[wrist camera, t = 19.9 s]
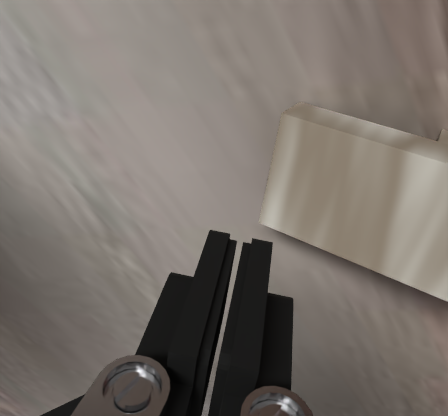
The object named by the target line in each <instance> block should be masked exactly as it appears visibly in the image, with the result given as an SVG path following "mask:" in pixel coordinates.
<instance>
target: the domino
mask: <svg viewBox="0 0 448 416" xmlns="http://www.w3.org/2000/svg"><path fill="white" fill-rule="evenodd" d="M259 223H260V224H263V225H265V226H268V227H270V228H272V229H275V230H277V231H280V232H282V233H284V234H287V235H289V236H292V237H294V238H296V239H299V240H301V241H303V242H306V243H308V244H311V245H313V246H315V247H318V248H320V249H323V250H325V251H327V252H330V253H332V254H335V255H337V256H339V257H342V258H344V259H347V260H349V261H351V262H354V263H356V264H359V265H361V266H363V267H366V268H368V269H371V270H373V271H375V272H378V273H380V274H382V275H385V276H387V277H390V278H392V279H394V280H397V281H399V282H402V283H404V284H406V285H409V286H411V287H414V288H416V289H418V290H421V291H423V292H426V293H428V294H430V295H433V296H435V297H438V298H440V299H442V300H445V301H447V302H448V144H445V143H441V142H438V141H435V140H431V139H428V138H424V137H421V136H417V135H414V134H410V133H407V132H403V131H400V130H396V129H393V128H389V127H386V126H383V125H379V124H376V123H372V122H369V121H365V120H362V119H358V118H355V117H351V116H348V115H344V114H341V113H337V112H334V111H330V110H327V109H324V108H320V107H317V106H313V105H310V104H306V103H303V102H299V103H298V104H296V105H294V106H293V107H291V108H290V109H288V110H286V111H285V112H283V113H282V114H281V119H280V124H279V128H278V133H277V138H276V143H275V147H274V152H273V157H272V162H271V166H270V171H269V176H268V181H267V185H266V190H265V195H264V200H263V204H262V209H261V214H260V219H259Z"/></svg>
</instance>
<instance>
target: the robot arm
mask: <svg viewBox="0 0 448 416" xmlns="http://www.w3.org/2000/svg"><path fill="white" fill-rule="evenodd" d="M236 244H237V241H235V240H230V234H228V233H223V232H218V231H213V230H210V231H209V234H208V237H207V239H206V242H205V245H204V248H203V251H202V254H201V257H200V260H199V263H198V266H197V269H196V271H195V274H194V277H191V276H186V275H181V274H176V273H172V272H171V273H170V275H169V277H168V279H167V281H166V283H165V286H164V288H163V290H162V293H161V295H160V297H159V300H158V302H157V305H156V307H155V309H154V312H153V314H152V316H151V319H150V321H149V323H148V326H147V328H146V331H145V333H144V335H143V338H142V340H141V342H140V345H139V347H138V349H137V352H136V354H135V355H132V356H125V357H122V358H119V359H116V360H115V361H113V362H112V363H110V364H108V365H107V366H106V367H105V368H104V369H103V370H102V371H101V372H100V374H99V375H98V377H97V378H96V379H95V381H94V382H93V384H92V385H91V387H90V388H89V390H88V391H87V393H86V394H85V395H83V396H81V397H79V398H77V399H74V400H72V401H70V402H68V403H66V404H64V405H62V406H60V407H58V408H55V409H53V410H51V411H49V412H47V413H45V414H43V415H41V416H201V415H202V410H203V406H204V401H205V397H206V392H207V388H208V383H209V379H210V374H211V370H212V365H213V361H214V356H215V352H216V347H217V343H218V338H219V334H220V329H221V325H222V320H223V315H224V310H225V304H226V299H227V293H228V288H229V282H230V277H231V271H232V266H233V260H234V255H235V249H236ZM272 245H273V243H272V242H268V241H263V240H258V239H253V238H252V242H251V244H250V243H245V242H243V246H242V251H241V256H240V261H239V265H238V270H237V275H236V280H235V284H234V289H233V294H232V299H231V304H230V308H229V313H228V318H227V323H226V327H225V332H224V337H223V342H222V347H221V351H220V356H219V361H218V366H217V371H216V377H215V382H214V387H213V393H212V398H211V403H210V408H209V414H208V416H313V414H312V412H311V410H310V409H309V407H308V406H307V404H306V403H305V401H303V400H302V399H301V398H300V397H299V396H298V395H297V394H295V393H293V392H292V391H291V371H292V334H293V298H290V297H286V296H281V295H276V294H271V293H267V292H268V283H269V273H270V264H271V254H272Z"/></svg>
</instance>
